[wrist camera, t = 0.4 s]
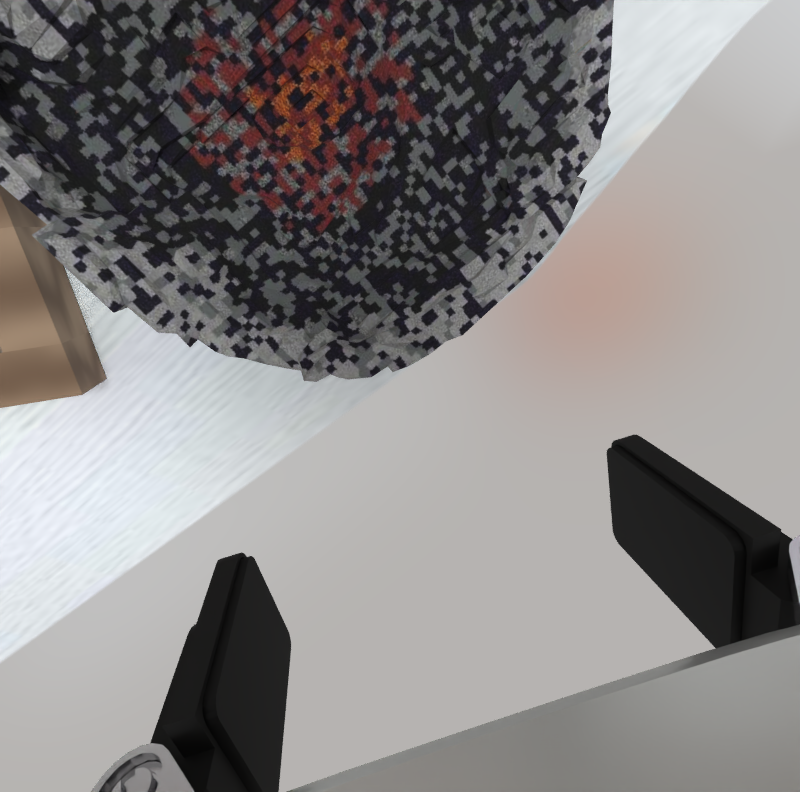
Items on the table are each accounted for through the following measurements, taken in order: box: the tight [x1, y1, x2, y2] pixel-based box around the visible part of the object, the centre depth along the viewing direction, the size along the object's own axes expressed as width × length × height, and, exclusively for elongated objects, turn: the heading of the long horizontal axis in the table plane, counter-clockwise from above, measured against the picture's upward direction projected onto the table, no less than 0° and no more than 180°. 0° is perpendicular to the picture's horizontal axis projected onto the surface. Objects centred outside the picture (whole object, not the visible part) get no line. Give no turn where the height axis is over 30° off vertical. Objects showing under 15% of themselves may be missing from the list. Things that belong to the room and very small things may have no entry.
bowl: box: [0, 0, 614, 382], centre depth 27 cm, size 31×31×15 cm
